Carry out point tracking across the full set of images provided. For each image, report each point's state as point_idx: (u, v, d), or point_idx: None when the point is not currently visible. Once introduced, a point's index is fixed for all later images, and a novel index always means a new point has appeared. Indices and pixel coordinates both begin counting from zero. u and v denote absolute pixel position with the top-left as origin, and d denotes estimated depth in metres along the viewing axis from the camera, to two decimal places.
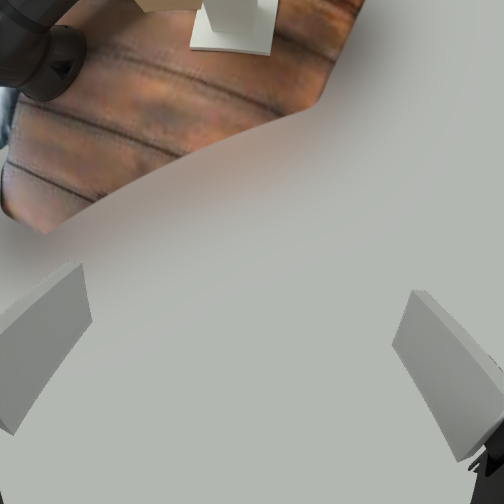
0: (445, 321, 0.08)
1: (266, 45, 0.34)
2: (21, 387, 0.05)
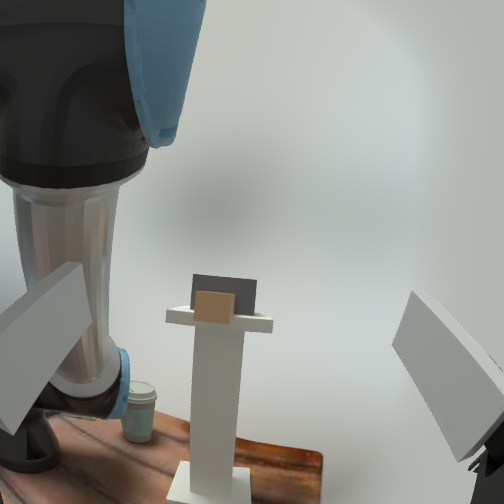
0: (445, 321, 0.08)
1: None
2: (21, 387, 0.05)
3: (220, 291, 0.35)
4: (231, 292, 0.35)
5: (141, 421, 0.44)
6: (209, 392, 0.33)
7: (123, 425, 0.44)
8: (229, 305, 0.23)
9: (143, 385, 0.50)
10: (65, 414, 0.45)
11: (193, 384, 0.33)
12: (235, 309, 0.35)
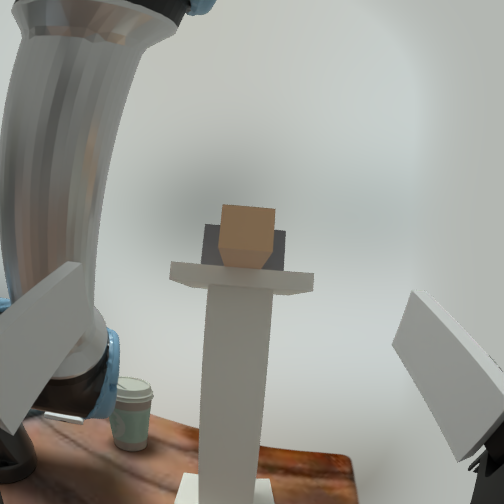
0: (445, 321, 0.08)
1: None
2: (21, 387, 0.05)
3: None
4: None
5: (134, 425, 0.36)
6: (226, 380, 0.25)
7: (113, 430, 0.35)
8: (272, 224, 0.16)
9: (137, 382, 0.42)
10: (48, 416, 0.36)
11: (204, 369, 0.25)
12: None
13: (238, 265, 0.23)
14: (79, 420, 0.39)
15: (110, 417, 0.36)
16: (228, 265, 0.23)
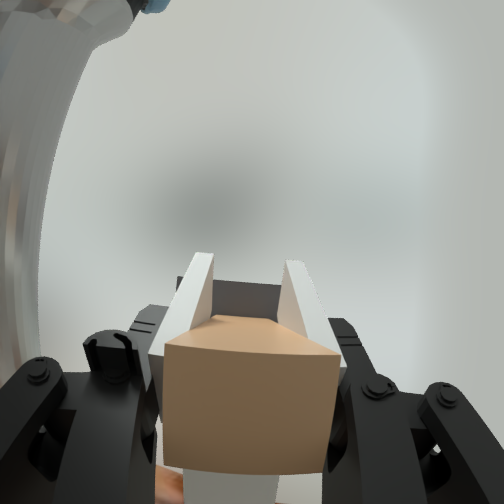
0: (297, 285, 0.10)
1: None
2: None
3: (236, 313, 0.16)
4: (260, 315, 0.16)
5: None
6: (218, 499, 0.13)
7: None
8: (330, 405, 0.04)
9: None
10: None
11: (186, 488, 0.13)
12: None
13: None
14: None
15: None
16: None
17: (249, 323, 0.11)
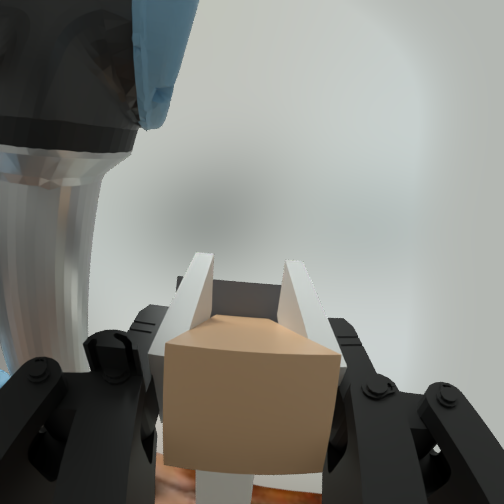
0: (297, 285, 0.10)
1: None
2: None
3: (236, 313, 0.16)
4: (260, 315, 0.16)
5: None
6: None
7: None
8: (330, 404, 0.04)
9: None
10: None
11: None
12: None
13: None
14: None
15: None
16: None
17: (249, 323, 0.11)
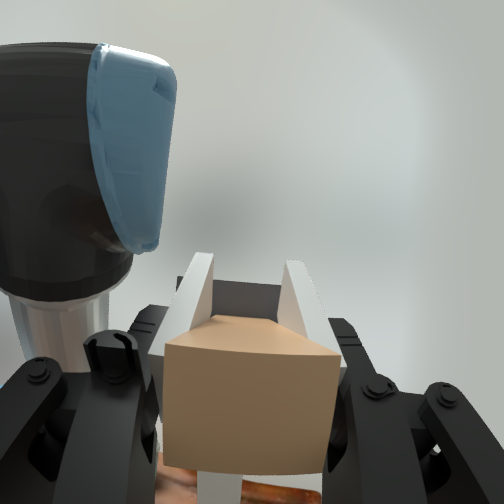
0: (297, 285, 0.10)
1: None
2: None
3: (236, 313, 0.16)
4: (260, 315, 0.16)
5: None
6: None
7: None
8: (330, 405, 0.04)
9: None
10: None
11: None
12: None
13: None
14: None
15: None
16: None
17: (249, 323, 0.11)
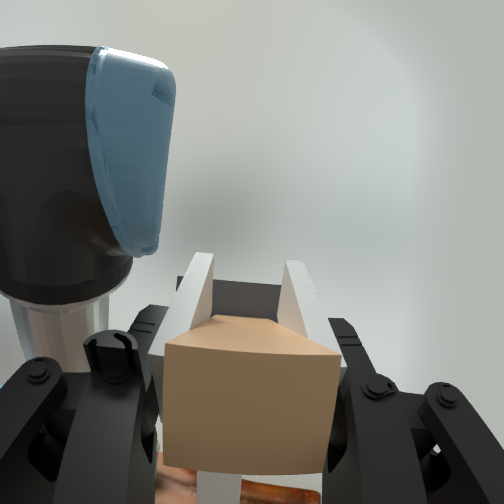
0: (297, 285, 0.10)
1: None
2: None
3: (236, 313, 0.16)
4: (260, 315, 0.16)
5: None
6: None
7: None
8: (330, 405, 0.04)
9: None
10: None
11: None
12: None
13: None
14: None
15: None
16: None
17: (249, 323, 0.11)
